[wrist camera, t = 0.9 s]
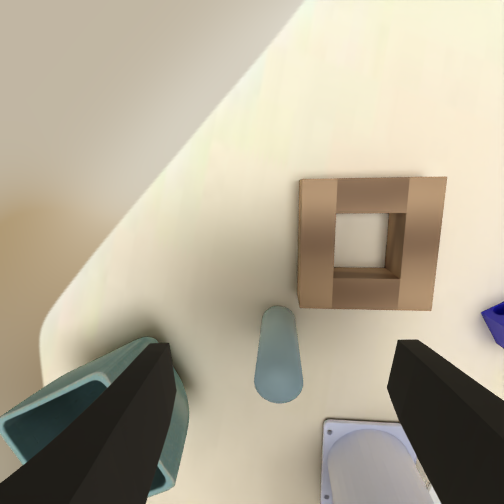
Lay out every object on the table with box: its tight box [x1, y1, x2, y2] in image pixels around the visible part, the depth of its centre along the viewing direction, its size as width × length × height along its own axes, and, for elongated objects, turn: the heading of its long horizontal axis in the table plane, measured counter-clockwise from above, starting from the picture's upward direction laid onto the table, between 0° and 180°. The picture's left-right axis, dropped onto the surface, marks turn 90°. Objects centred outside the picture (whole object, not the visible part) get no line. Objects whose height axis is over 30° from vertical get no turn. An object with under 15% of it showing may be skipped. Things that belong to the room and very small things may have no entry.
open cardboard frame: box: [297, 177, 447, 311], centre depth 21 cm, size 9×9×3 cm
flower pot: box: [0, 337, 189, 498], centre depth 22 cm, size 9×9×9 cm
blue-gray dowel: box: [254, 306, 303, 403], centre depth 21 cm, size 3×3×8 cm
